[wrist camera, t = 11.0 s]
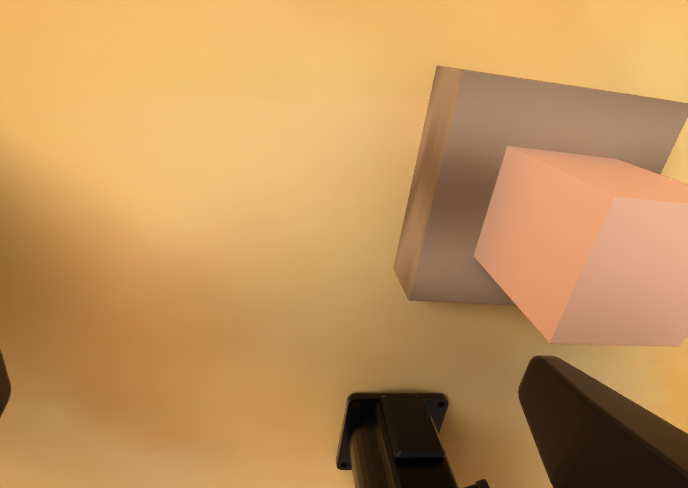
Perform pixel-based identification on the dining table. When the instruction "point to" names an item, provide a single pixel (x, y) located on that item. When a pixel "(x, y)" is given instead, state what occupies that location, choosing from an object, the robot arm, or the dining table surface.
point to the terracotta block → (589, 248)
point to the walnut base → (486, 159)
